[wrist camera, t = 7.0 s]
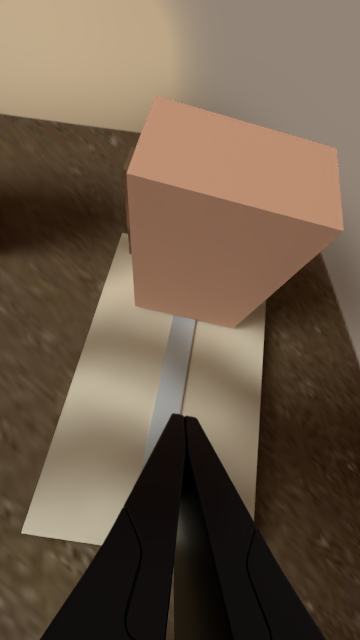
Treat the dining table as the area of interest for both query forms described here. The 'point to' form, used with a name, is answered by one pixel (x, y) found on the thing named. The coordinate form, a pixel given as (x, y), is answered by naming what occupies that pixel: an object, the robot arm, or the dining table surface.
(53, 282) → the dining table surface
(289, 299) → the dining table surface
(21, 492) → the dining table surface
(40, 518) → the track
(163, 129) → the tan rectangular block
